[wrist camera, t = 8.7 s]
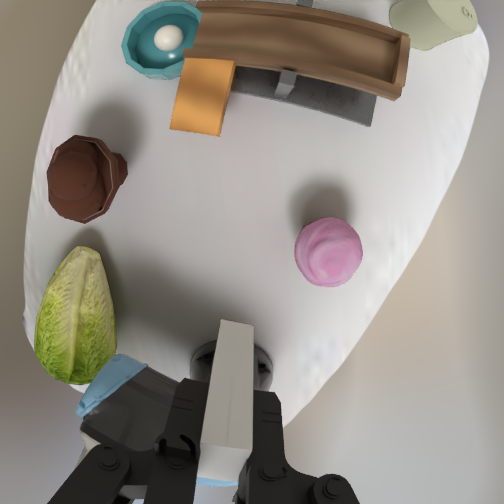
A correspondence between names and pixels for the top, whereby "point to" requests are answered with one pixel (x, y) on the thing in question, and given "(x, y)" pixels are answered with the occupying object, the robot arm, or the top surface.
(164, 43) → the ball
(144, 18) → the teal bowl
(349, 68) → the chute
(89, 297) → the lettuce
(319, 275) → the cupcake
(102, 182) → the ice cream bowl
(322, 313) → the top surface
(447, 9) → the can
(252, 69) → the chute stand
